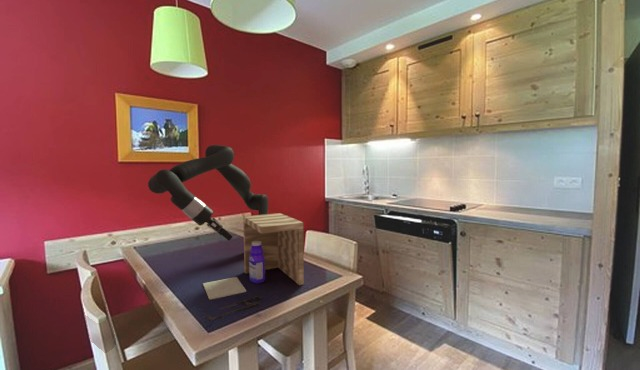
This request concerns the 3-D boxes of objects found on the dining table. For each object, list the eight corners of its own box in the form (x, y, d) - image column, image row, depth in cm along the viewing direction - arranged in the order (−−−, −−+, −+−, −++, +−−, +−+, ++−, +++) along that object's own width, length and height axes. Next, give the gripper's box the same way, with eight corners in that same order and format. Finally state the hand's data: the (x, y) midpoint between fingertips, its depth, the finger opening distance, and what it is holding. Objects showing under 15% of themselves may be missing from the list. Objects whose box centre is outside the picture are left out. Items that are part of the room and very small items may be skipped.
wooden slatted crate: (244, 272, 138) (243, 216, 136) (280, 265, 147) (279, 213, 145) (262, 293, 115) (261, 227, 113) (303, 284, 124) (303, 222, 122)
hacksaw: (260, 297, 113) (260, 294, 113) (272, 308, 105) (272, 304, 104) (193, 316, 100) (193, 312, 99) (200, 330, 91) (200, 326, 91)
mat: (203, 284, 124) (202, 283, 124) (236, 277, 131) (236, 276, 131) (209, 299, 110) (209, 298, 110) (246, 291, 117) (246, 290, 117)
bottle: (247, 280, 128) (246, 241, 127) (258, 277, 132) (257, 239, 131) (256, 285, 123) (255, 244, 122) (267, 281, 127) (266, 242, 126)
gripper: (207, 205, 109) (239, 232, 115) (201, 201, 121) (230, 226, 127) (192, 221, 106) (225, 248, 113) (188, 215, 119) (218, 239, 125)
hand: (228, 236), depth 120 cm, fingers open, 8 cm apart
